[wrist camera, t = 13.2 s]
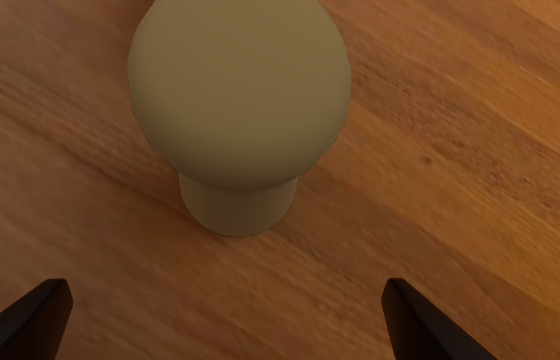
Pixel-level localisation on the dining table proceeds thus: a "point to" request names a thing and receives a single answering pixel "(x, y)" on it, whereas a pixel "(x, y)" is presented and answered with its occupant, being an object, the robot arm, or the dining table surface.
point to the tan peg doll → (239, 101)
